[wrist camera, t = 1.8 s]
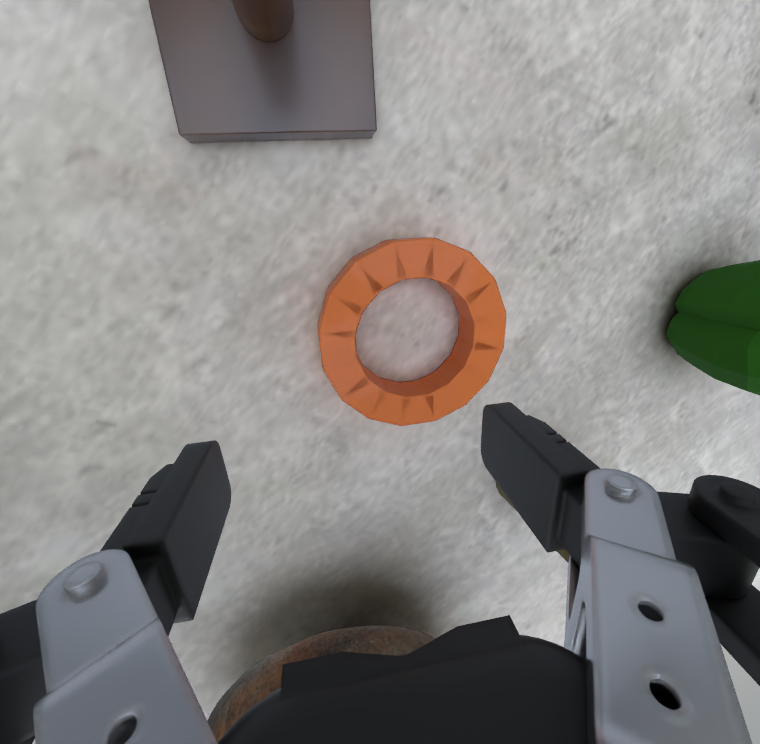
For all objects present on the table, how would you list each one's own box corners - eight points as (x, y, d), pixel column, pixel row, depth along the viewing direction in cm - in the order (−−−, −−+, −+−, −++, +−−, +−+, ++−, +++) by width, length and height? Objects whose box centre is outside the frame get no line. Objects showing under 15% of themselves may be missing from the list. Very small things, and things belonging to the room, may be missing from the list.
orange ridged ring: (329, 417, 24) (331, 436, 22) (307, 245, 20) (307, 246, 17) (483, 396, 25) (499, 412, 23) (492, 232, 21) (512, 232, 19)
